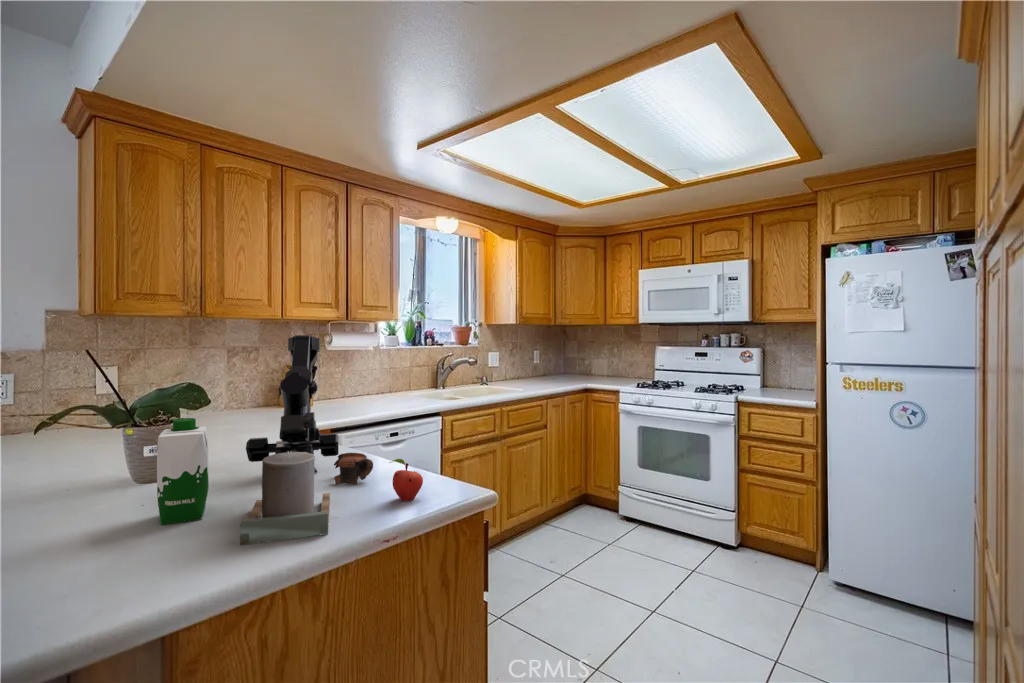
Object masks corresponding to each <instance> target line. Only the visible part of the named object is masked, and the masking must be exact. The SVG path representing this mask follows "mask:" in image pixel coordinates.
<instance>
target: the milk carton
mask: <svg viewBox="0 0 1024 683" xmlns="http://www.w3.org/2000/svg"><path fill="white" fill-rule="evenodd" d="M196 420H197V419H196V418H194V417H192V418H191V417H185V418H176V419H174V420H172V428H167V429H164V430H162V432H160V433H159V435H158V437H157V444H156V450H155V451H156V452H157V454H156V492H157V493H156V494H157V495H156V496H157V497H156V498H157V505H158V512H159V522H160V526H165V525H171V524H177V523H178V522H179V523H186V522H192V520H193V521H197V520H198V521H199V519H200V520H202V519H203V516H204V512H205V509H206V504H207V500H208V499H207V498H208V494H209V479H210V478H209V437H208V429H207V426H197V425H196V424H197V423H196ZM179 523H178V524H179Z"/></svg>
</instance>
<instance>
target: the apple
mask: <svg viewBox="0 0 1024 683" xmlns="http://www.w3.org/2000/svg"><path fill="white" fill-rule="evenodd" d="M393 462H395V463H399V464H403V465H405V468H404V469H405V470H403V469H399V470H395V472H394V473H393V476H392V488H393V490H394V492H395V493H396V496H397V497H398V498H399V499H400V500H401V501H403V502H410V500H411V501H414V500H415V498H416V496H417V495H418V493H419V492H420V490H421V489H422V486H423V483H424V477H423V476H422V474H421V473H419V472H418V471H415V470H414V471H411V470H408V467H409V463H408V462H406V463H405V460H404V459H402V458H396V459H393V460H392V461H389V464H391V463H393Z"/></svg>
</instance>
